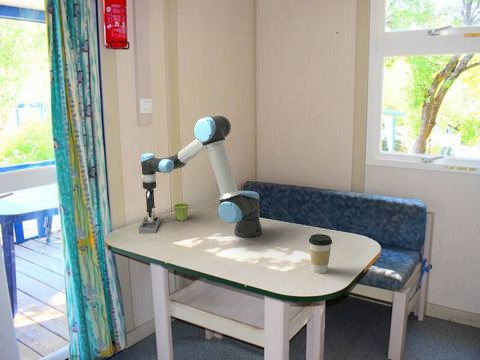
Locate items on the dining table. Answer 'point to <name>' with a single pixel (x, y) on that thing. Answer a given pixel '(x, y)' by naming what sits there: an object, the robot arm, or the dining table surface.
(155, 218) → the yellow rectangular block
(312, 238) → the coffee cup
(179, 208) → the plant pot
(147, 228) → the grey double window frame
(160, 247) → the dining table surface
